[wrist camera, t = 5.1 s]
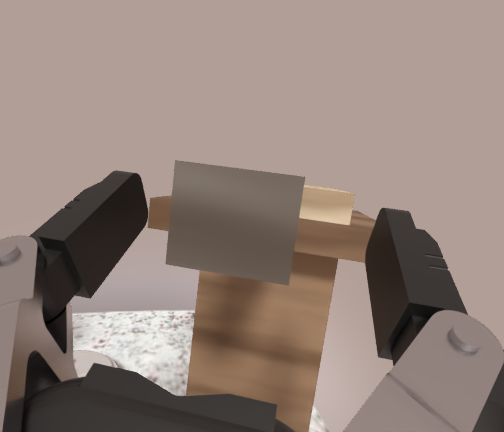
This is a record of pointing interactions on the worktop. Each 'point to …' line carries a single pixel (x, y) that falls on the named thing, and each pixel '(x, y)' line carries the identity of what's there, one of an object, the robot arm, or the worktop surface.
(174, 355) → the worktop surface
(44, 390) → the robot arm
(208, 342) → the tall stand
